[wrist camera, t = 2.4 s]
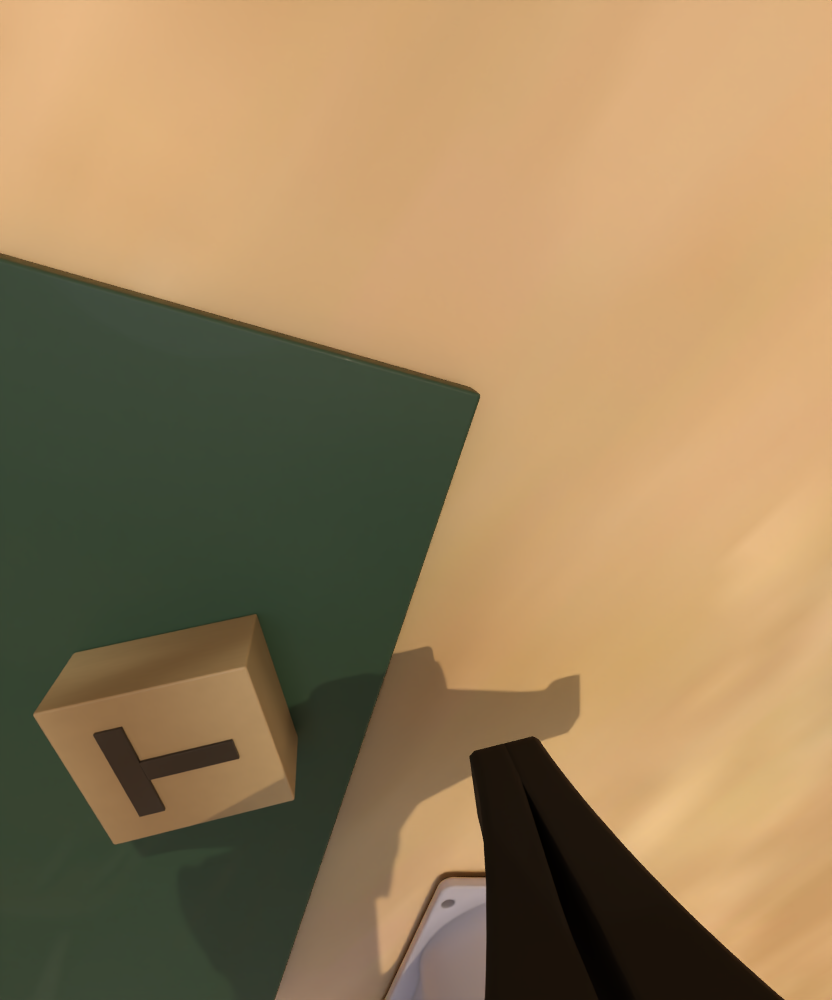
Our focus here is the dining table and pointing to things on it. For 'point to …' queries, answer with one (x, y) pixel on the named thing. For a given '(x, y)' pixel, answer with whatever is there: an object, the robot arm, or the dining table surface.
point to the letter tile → (174, 728)
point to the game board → (192, 607)
